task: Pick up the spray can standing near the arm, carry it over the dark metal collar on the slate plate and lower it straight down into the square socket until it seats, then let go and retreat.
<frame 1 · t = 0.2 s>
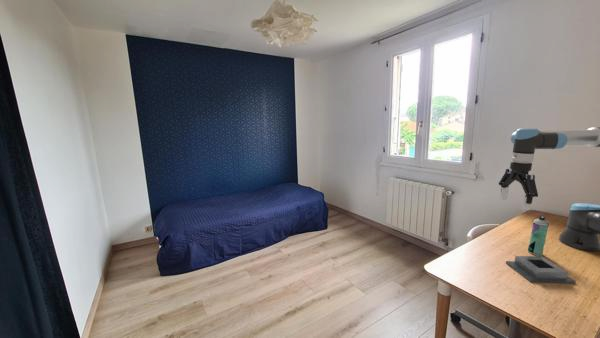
hand: (513, 204, 118), 27 cm above the table, fingers open, 13 cm apart
spray can: (534, 253, 126), on the table
collar: (538, 272, 110), on the table
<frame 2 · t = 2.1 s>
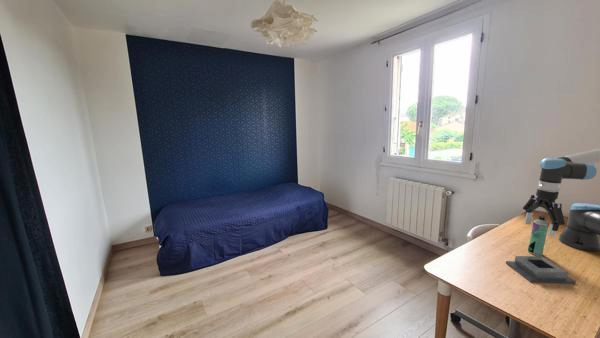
hand: (538, 229, 123), 13 cm above the table, fingers open, 13 cm apart
nothing on the table moved.
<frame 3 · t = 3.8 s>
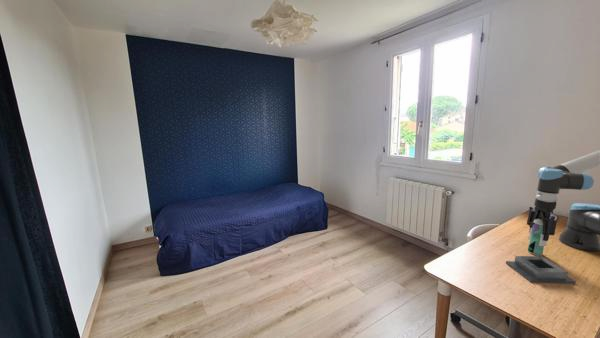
hand: (536, 242, 125), 6 cm above the table, fingers closed on spray can, 5 cm apart
spray can: (534, 253, 126), on the table, touching gripper
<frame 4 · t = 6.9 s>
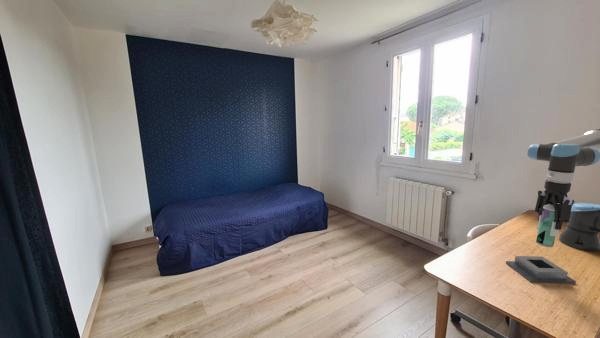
hand: (547, 232, 106), 20 cm above the table, fingers closed on spray can, 5 cm apart
spray can: (544, 244, 107), point 14 cm above the table, touching gripper
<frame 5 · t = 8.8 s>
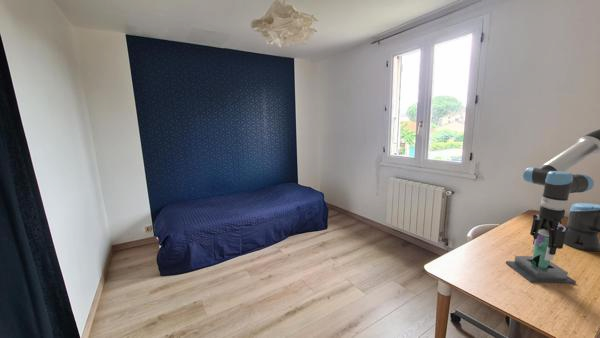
hand: (541, 256, 109), 8 cm above the table, fingers closed on spray can, 5 cm apart
spray can: (539, 268, 110), point 2 cm above the table, touching gripper
when the fingers open (8 cm above the table, at t = 10.0 s): spray can stays where it is, resting on collar.
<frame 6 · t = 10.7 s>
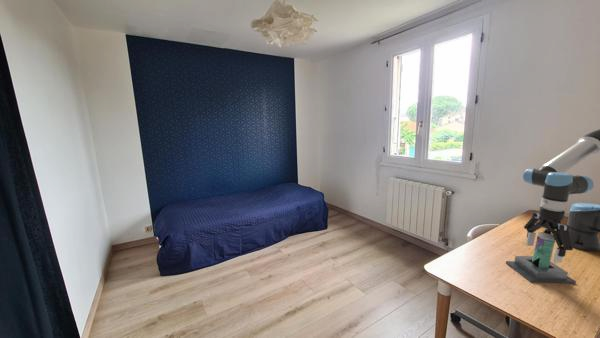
hand: (542, 253, 108), 10 cm above the table, fingers open, 13 cm apart
spray can: (538, 270, 110), point 1 cm above the table, touching collar
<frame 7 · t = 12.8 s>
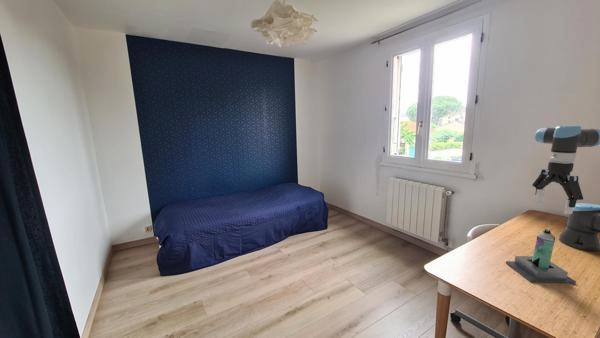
hand: (552, 207, 110), 29 cm above the table, fingers open, 13 cm apart
nothing on the table moved.
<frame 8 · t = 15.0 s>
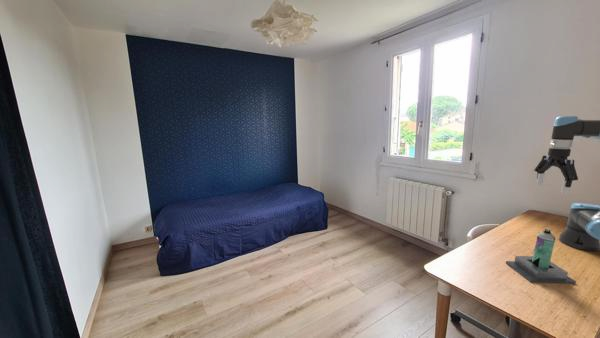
hand: (551, 189, 125), 33 cm above the table, fingers open, 13 cm apart
nothing on the table moved.
at the end: spray can 0.0 cm from the collar (horizontally); spray can tilted 0°; the gripper is holding nothing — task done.
